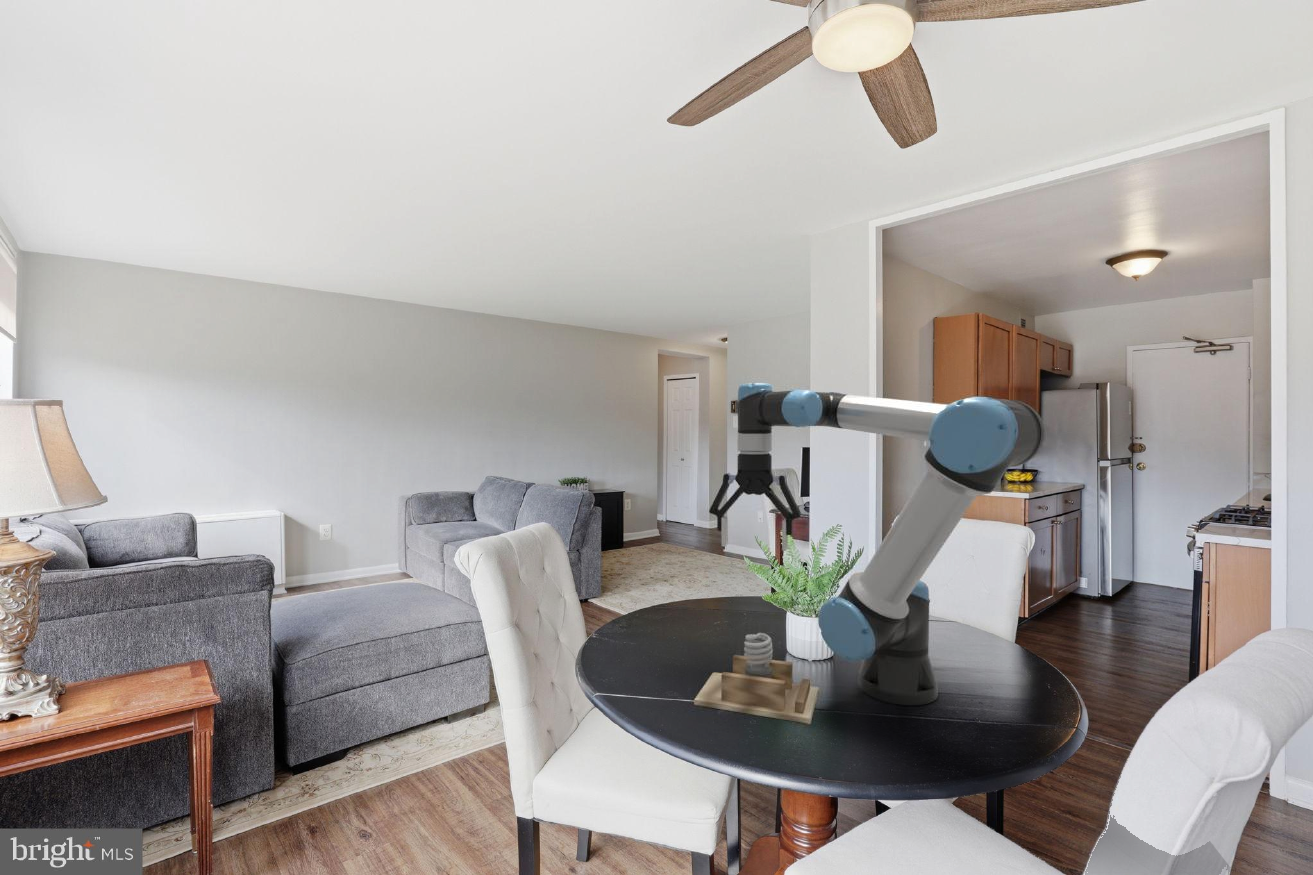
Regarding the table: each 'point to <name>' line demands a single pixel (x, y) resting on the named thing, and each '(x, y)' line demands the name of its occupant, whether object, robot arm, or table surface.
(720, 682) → the u rest
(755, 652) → the light bulb
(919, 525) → the robot arm
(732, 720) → the table surface
